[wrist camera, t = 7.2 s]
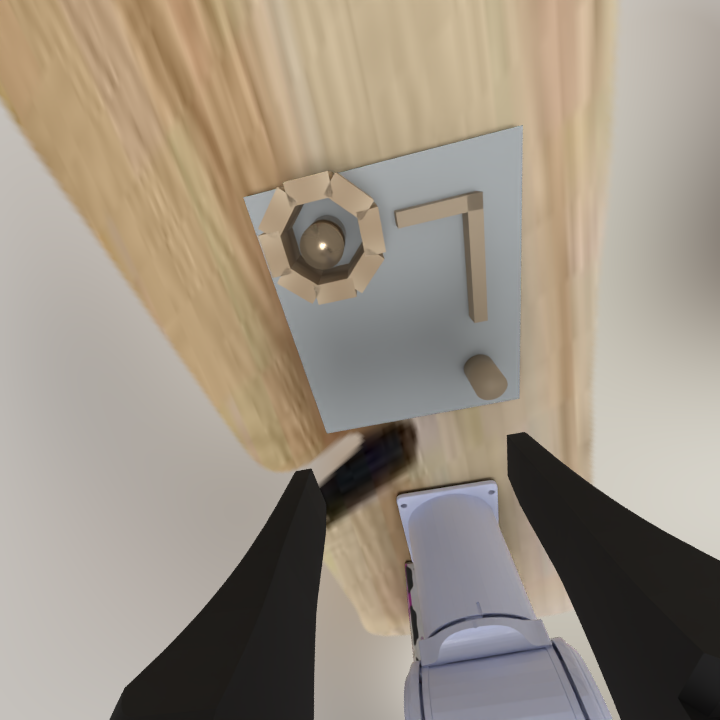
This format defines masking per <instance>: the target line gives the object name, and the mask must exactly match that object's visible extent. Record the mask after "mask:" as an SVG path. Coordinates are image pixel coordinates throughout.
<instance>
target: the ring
mask: <svg viewBox="0 0 720 720" xmlns="http://www.w3.org/2000/svg"><path fill="white" fill-rule="evenodd" d="M283 185H284V186H283V187H277V188H276V191H275V193H274V195H273V197H272V199H271V201H270V204H269V206H268V208H267V210H266V212H265V214H264V217H263V219H262V221H261V223H260V225H259V228H258V229H259V230H261V231H262V232H264V233H262V234H260V235H259V236H258V238H259V241H260V244H261V247H262V250H263V252H264V255H265V258H266V261H267V264H268V267H269V269H270V272H271V275H272V278H275V277H279V276H280V278H279V280H278V282H277V284H279V285H281V286H282V287H284V288H286V289H287V290H289V291H291V292H293V293H294V294H296V295H298V296H300V297H301V298H303V299H305V300H306V301H308V302H310V303H312V304H313V302H314V301H315V299H316V297H317V301H318V304H319V305H321V304H326V303H331V302H335V301H340V300H345V299H349V298H354V297H357V290H358V291H359V292H361V293H363V291H364V290H365V288H366V287H367V285H368V284H369V282H370V280H371V279H372V277H373V276H374V274H375V273H376V271H377V270H378V268H379V267H380V265H381V264H382V262H383V261H384V259H385V258H384V256H383V253H384V252H386V249H385V243H384V237H383V232H382V226H381V221H380V215H379V209H378V206H377V205H376V203H375V202H373V201H374V200H373V198H372V197H371V196H369V195H368V194H367V193H365V192H364V191H363V190H361V189H360V188H358V187H357V186H356V185H354V184H353V183H351V182H350V181H349V180H347V179H346V178H344V177H343V176H342V175H340V174H339V173H336V172H335V173H334V175H333V172H330V171H325V172H321V173H317V174H313V175H309V176H305V177H301V178H298V179H294V180H290V181H286V182H283ZM325 198H329V199H331V200H332V201H334V202H335V203H337V204H338V205H339V206H341V207H342V208H344V209H345V210H347V211H348V212H350V213H351V214H353V215H354V216H355V217H357V218H358V223H359V228H360V233H361V238H362V243H361V245H360V246H359V248H358V249H357V251H356V253H355V254H354V256H353V258H352V259H351V261H350V263H349V264H344V265H340V266H335V267H332V268H329V269H324V270H322V269H316V268H314V267H312V266H310V265H309V264H308V263H307V262H306V261H305V260H304V258H303V257H302V255H301V254H300V251H299V248H298V244H297V241H296V238H295V234H294V231H293V228H292V227H293V225H294V223H295V221H296V219H297V217H298V215H299V213H300V211H301V209H302V207H303V205H304V204H305V203H309V202H313V201H317V200H321V199H325Z"/></svg>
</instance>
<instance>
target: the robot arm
mask: <svg viewBox="0 0 720 720" xmlns="http://www.w3.org/2000/svg"><path fill="white" fill-rule="evenodd" d="M507 461H508V477H509V480H510V482H511V485H512V487H513V490H514V492H515V494H516V497H517V499H518V501H519V504H520V506H521V507H522V509H523V511H524V513H525V515H526V517H527V518H528V520H529V522H530V524H531V526H532V527H533V529H534V531H535V533H536V535H537V536H538V538H539V540H540V542H541V544H542V545H543V547H544V549H545V551H546V553H547V554H548V556H549V558H550V560H551V562H552V563H553V565H554V567H555V569H556V571H557V573H558V575H559V577H560V579H561V581H562V583H563V585H564V587H565V589H566V591H567V594H568V596H569V598H570V600H571V603H572V605H573V607H574V609H575V611H576V614H577V616H578V618H579V620H580V623H581V625H582V627H583V630H584V632H585V634H586V637H587V639H588V641H589V643H590V646H591V648H592V650H593V653H594V655H595V657H596V660H597V662H598V664H599V667H600V670H601V672H602V674H603V677H604V679H605V681H606V684H607V686H608V689H609V691H610V694H611V696H612V698H613V701H614V704H615V706H616V709H617V711H618V714H619V716H620V719H621V720H720V561H719V560H717V559H715V558H713V557H712V556H710V555H708V554H706V553H704V552H702V551H700V550H698V549H696V548H695V547H693V546H691V545H689V544H687V543H685V542H683V541H681V540H679V539H678V538H676V537H674V536H672V535H670V534H668V533H667V532H665V531H663V530H661V529H659V528H658V527H656V526H654V525H653V524H651V523H649V522H647V521H646V520H644V519H642V518H641V517H639V516H638V515H636V514H635V513H633V512H631V511H630V510H628V509H627V508H625V507H623V506H622V505H620V504H619V503H617V502H616V501H614V500H613V499H611V498H610V497H609V496H607V495H606V494H604V493H603V492H601V491H600V490H598V489H597V488H596V487H594V486H593V485H591V484H590V483H589V482H587V481H586V480H584V479H583V478H582V477H581V476H579V475H578V474H577V473H575V472H574V471H573V470H571V469H570V468H569V467H567V466H566V465H565V464H563V463H562V462H561V461H560V460H558V459H557V458H556V457H555V456H553V455H552V454H551V453H550V452H549V451H547V450H546V449H545V448H544V447H542V446H541V445H540V444H539V443H538V442H537V441H535V440H534V439H533V438H532V437H531V436H529V435H528V434H527V433H525V432H522V433H517V434H511V435H507ZM397 504H398V508H399V512H400V516H401V520H402V524H403V528H404V532H405V536H406V540H407V544H408V548H409V552H410V555H411V559H412V562H413V563H414V570H415V577H416V583H417V590H418V597H419V604H420V610H421V617H422V624H423V631H424V637H425V639H424V640H420V641H419V649H420V657H421V660H419V661H414V662H413V663H412V664H411V667H410V671H409V673H408V675H407V677H406V681H405V687H404V713H405V720H613V719H612V716H611V714H610V712H609V710H608V708H607V705H606V703H605V701H604V699H603V697H602V695H601V693H600V691H599V689H598V687H597V685H596V683H595V681H594V679H593V677H592V675H591V673H590V671H589V669H588V667H587V665H586V664H585V662H584V660H583V659H582V657H581V655H580V654H579V653H578V651H577V650H576V649H575V648H573V647H572V646H571V645H569V644H568V643H566V642H565V640H563V639H562V638H561V637H555V638H551V641H550V638H549V636H548V633H547V631H546V629H545V626H544V624H543V622H542V620H541V619H537V618H536V615H535V613H534V610H533V608H532V606H531V603H530V601H529V598H528V596H527V593H526V591H525V588H524V586H523V584H522V581H521V579H520V576H519V574H518V571H517V569H516V567H515V564H514V562H513V559H512V557H511V554H510V552H509V549H508V547H507V545H506V542H505V540H504V537H503V535H502V532H501V530H500V528H499V518H498V487H497V484H496V482H495V481H493V480H488V481H481V482H475V483H469V484H462V485H456V486H450V487H444V488H437V489H431V490H425V491H418V492H412V493H406V494H400V495H399V496H397ZM325 536H326V503H325V500H324V498H323V496H322V493H321V491H320V488H319V486H318V483H317V481H316V479H315V476H314V474H313V471H312V469H306V470H301V471H296V472H295V473H294V475H293V477H292V479H291V481H290V483H289V484H288V486H287V488H286V490H285V492H284V493H283V495H282V497H281V498H280V500H279V502H278V504H277V506H276V507H275V509H274V511H273V512H272V514H271V516H270V517H269V519H268V521H267V523H266V524H265V526H264V528H263V529H262V531H261V532H260V533H259V535H258V537H257V538H256V540H255V541H254V543H253V544H252V546H251V547H250V549H249V550H248V552H247V553H246V555H245V556H244V558H243V559H242V560H241V562H240V563H239V564H238V566H237V567H236V568H235V570H234V571H233V572H232V574H231V575H230V576H229V578H228V579H227V580H226V582H225V583H224V584H223V585H222V587H221V588H220V589H219V590H218V591H217V593H216V594H215V595H214V596H213V598H212V599H211V600H210V601H209V602H208V604H207V605H206V606H205V607H204V608H203V609H202V611H201V612H200V613H199V614H198V615H197V616H196V617H195V618H194V619H193V621H191V623H190V624H189V625H188V626H187V627H186V628H185V629H184V630H183V631H182V632H181V633H180V634H179V635H178V636H177V638H176V639H175V640H174V641H173V642H172V643H171V644H170V645H169V646H168V647H167V648H166V649H165V650H164V651H163V652H162V653H161V654H160V655H159V656H158V657H157V658H156V659H155V660H154V661H152V662H151V663H150V664H149V665H148V666H147V667H146V668H145V669H144V670H143V671H142V672H141V673H140V674H139V675H138V676H137V677H136V678H135V679H134V680H133V681H132V682H131V683H129V684H128V685H127V687H125V688H124V691H123V693H122V694H121V697H120V699H119V701H118V703H117V705H116V707H115V709H114V711H113V713H112V716H111V718H110V720H314V662H315V659H314V658H315V631H316V611H317V600H318V592H319V584H320V576H321V567H322V560H323V552H324V544H325Z"/></svg>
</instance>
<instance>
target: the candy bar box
mask: <svg viewBox="0 0 720 720" xmlns="http://www.w3.org/2000/svg"><path fill="white" fill-rule="evenodd" d="M405 572H406V586H407V599H408V610H409V620H410V629H411V639H412V649H413V658H414V661H419V660H421V657H420V649H419V641H420V640H424V639H425V637H424V631H423V624H422V617H421V610H420V604H419V597H418V590H417V583H416V577H415V570H414V563H413V562H407V563H405Z"/></svg>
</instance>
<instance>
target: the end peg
mask: <svg viewBox="0 0 720 720" xmlns="http://www.w3.org/2000/svg"><path fill="white" fill-rule="evenodd" d="M345 240H346V230H345V227H344V225H343V223H342V222H341V221H340V220H339V219H338V218H336V217H334V216H331V215H324V216H321V217H319V218H317V219H316V220H315V221H314V222H313V223H312V224H311V225H310V226H309V227H308V228H307V229H306V230H305V231H304V233H303V234H302V236H301V239H300V252H301V255H302V257H303V258H304V260H305V261H306V262H307V263H308V264H309V265H310V266H312V267H314V268H316V269H322V270H324V269H329V268H332V267H334V266H335V265H336V264H338V262H339V261H340V260H341V258H342V255H343V252H344V246H345Z"/></svg>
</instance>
